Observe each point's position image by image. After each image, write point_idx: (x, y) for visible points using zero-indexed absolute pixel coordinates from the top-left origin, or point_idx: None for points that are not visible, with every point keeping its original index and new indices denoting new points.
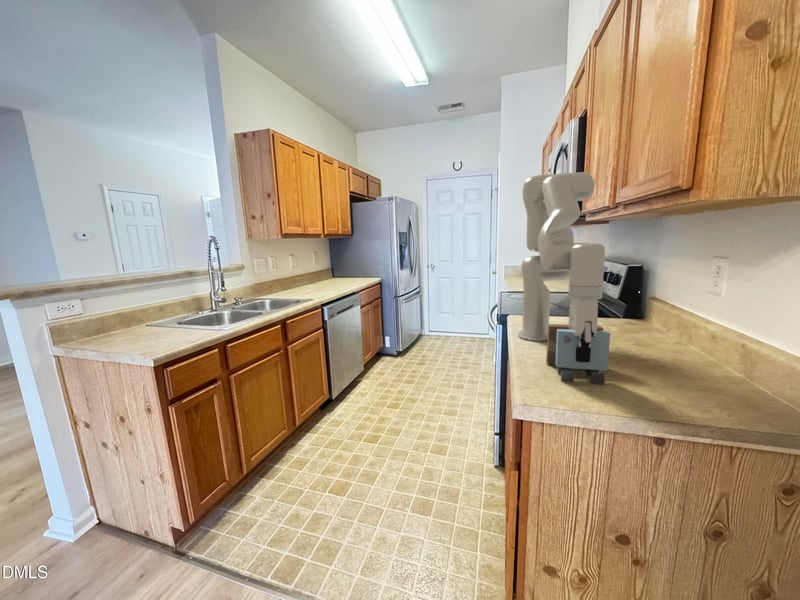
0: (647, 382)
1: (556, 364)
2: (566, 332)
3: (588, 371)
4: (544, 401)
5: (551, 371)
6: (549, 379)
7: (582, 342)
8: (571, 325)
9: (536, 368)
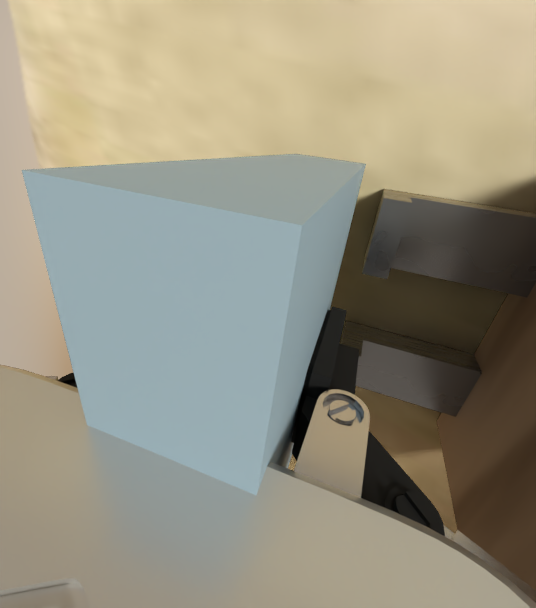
0: (293, 466)
1: (309, 156)
2: (82, 339)
3: (341, 340)
4: (46, 11)
5: (436, 155)
6: (300, 104)
7: (65, 377)
8: (82, 597)
9: (526, 34)
